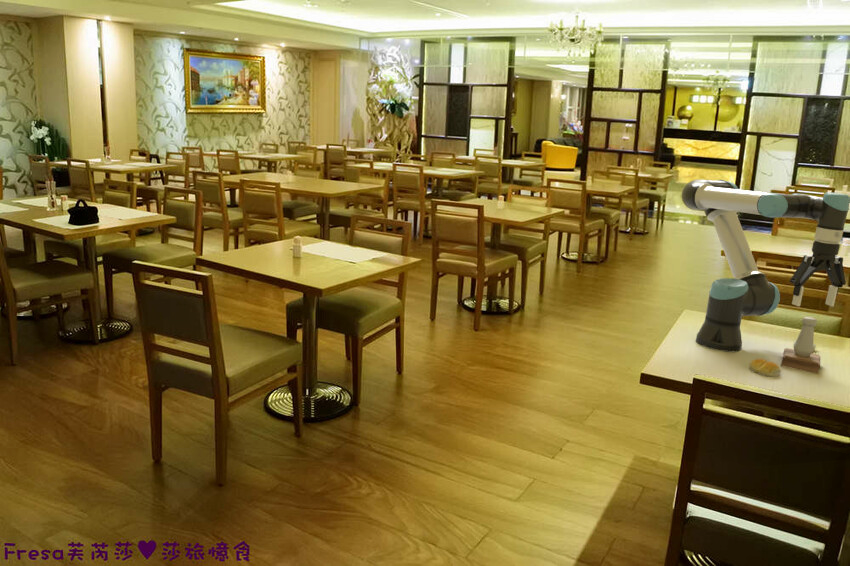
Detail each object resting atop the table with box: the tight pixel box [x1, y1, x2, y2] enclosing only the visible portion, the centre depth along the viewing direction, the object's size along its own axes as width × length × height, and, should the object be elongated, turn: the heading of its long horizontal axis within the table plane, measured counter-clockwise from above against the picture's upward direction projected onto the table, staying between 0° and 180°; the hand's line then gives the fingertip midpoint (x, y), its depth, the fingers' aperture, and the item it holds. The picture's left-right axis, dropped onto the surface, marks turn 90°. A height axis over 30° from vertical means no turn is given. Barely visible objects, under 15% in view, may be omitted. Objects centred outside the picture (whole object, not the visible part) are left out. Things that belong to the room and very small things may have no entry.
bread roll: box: [749, 358, 782, 378], centre depth 224 cm, size 8×9×4 cm
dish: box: [792, 339, 817, 350], centre depth 254 cm, size 7×7×2 cm
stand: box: [780, 347, 821, 374], centre depth 234 cm, size 11×11×4 cm
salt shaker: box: [793, 316, 818, 357], centre depth 232 cm, size 6×6×13 cm
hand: (812, 305), depth 230 cm, fingers open, 13 cm apart
